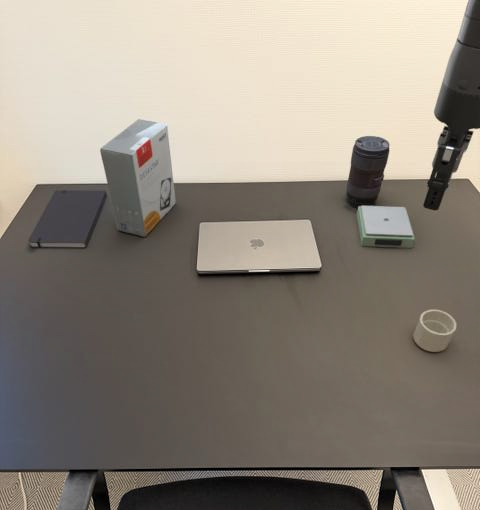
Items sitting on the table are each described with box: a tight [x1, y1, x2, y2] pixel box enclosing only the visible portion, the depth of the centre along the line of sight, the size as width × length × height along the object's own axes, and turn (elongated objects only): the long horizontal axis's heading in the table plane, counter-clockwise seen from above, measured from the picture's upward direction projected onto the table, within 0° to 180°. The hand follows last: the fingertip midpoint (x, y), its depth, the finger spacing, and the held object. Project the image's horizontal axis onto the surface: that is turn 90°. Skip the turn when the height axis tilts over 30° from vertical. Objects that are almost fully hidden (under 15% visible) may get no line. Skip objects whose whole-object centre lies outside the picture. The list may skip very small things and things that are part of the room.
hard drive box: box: [99, 118, 177, 238], centre depth 104 cm, size 16×8×20 cm, turn 158°
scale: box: [356, 205, 416, 249], centre depth 106 cm, size 11×12×3 cm
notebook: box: [27, 189, 108, 249], centre depth 110 cm, size 13×2×21 cm
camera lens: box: [345, 135, 390, 209], centre depth 110 cm, size 8×8×15 cm
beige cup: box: [412, 309, 458, 353], centre depth 82 cm, size 6×6×5 cm
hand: (436, 194), depth 71 cm, fingers open, 8 cm apart
